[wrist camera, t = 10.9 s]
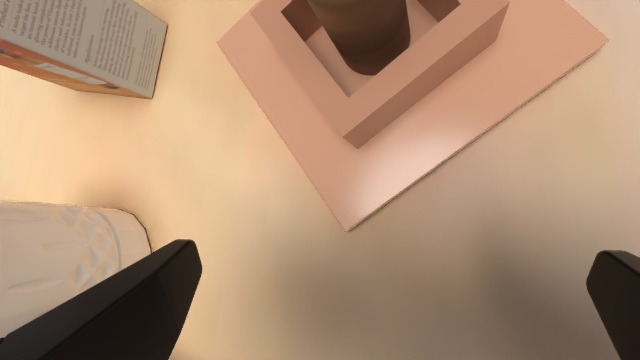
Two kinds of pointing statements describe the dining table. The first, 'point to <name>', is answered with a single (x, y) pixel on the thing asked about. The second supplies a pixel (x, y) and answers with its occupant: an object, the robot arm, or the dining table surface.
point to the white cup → (59, 254)
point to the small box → (83, 44)
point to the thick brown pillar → (365, 31)
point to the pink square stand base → (400, 88)
